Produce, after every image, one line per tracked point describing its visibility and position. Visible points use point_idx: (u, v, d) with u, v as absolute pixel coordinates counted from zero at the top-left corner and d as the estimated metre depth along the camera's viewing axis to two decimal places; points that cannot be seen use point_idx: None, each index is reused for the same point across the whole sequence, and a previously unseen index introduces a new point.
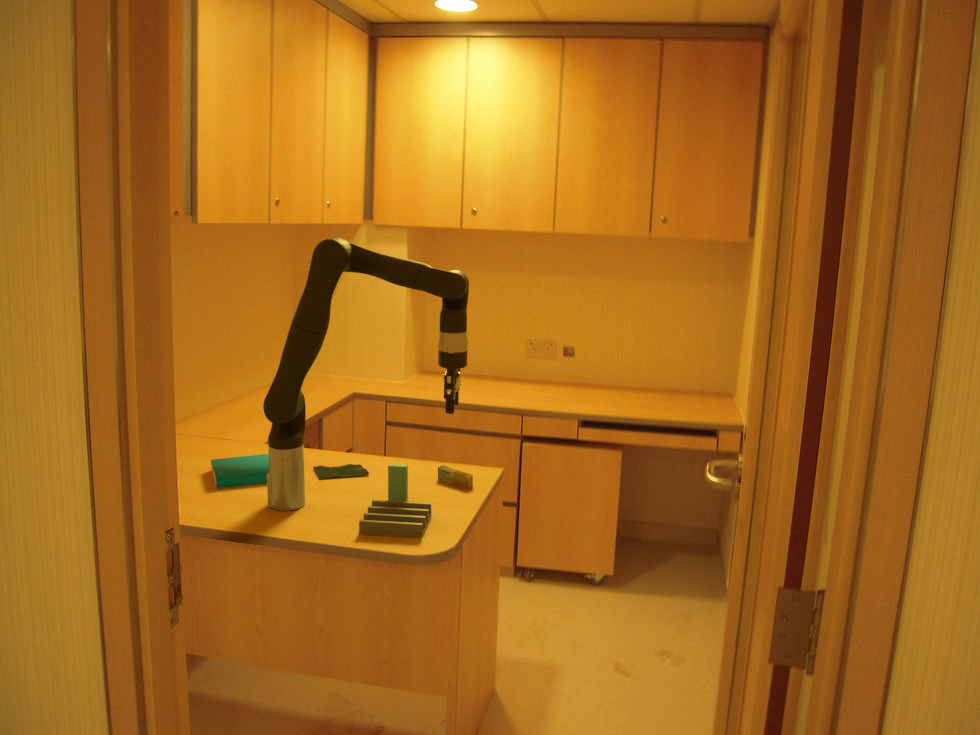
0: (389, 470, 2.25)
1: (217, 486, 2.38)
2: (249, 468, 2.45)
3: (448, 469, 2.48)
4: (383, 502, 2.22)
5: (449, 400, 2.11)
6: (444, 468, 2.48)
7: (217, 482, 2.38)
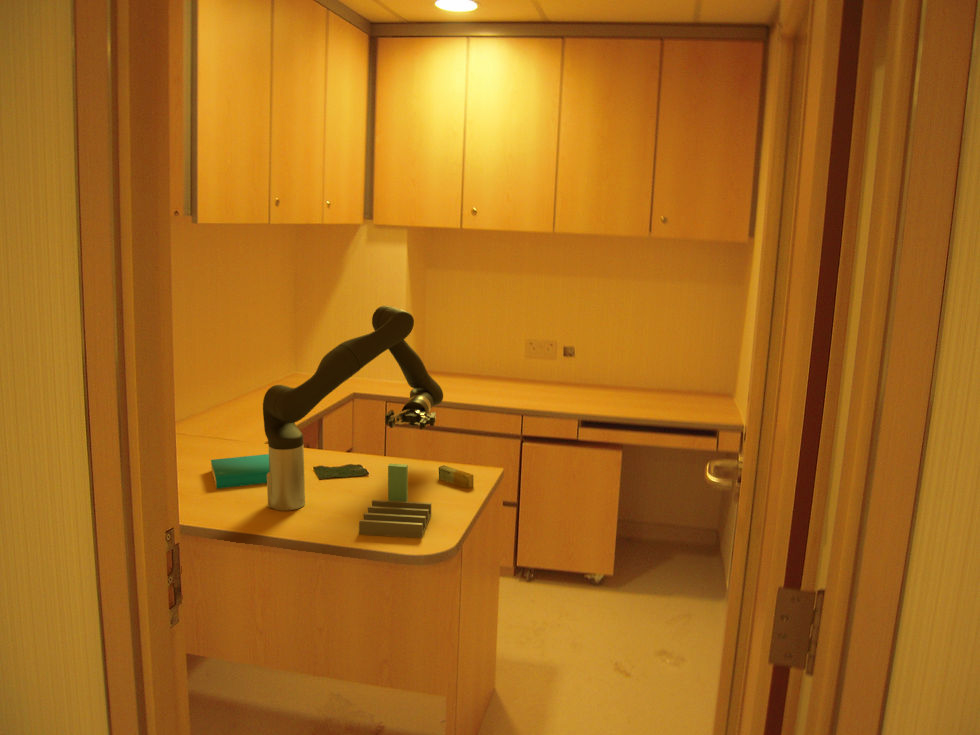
0: (389, 470, 2.25)
1: (217, 486, 2.38)
2: (249, 468, 2.45)
3: (449, 469, 2.48)
4: (383, 502, 2.22)
5: (427, 422, 2.37)
6: (445, 468, 2.49)
7: (217, 482, 2.37)
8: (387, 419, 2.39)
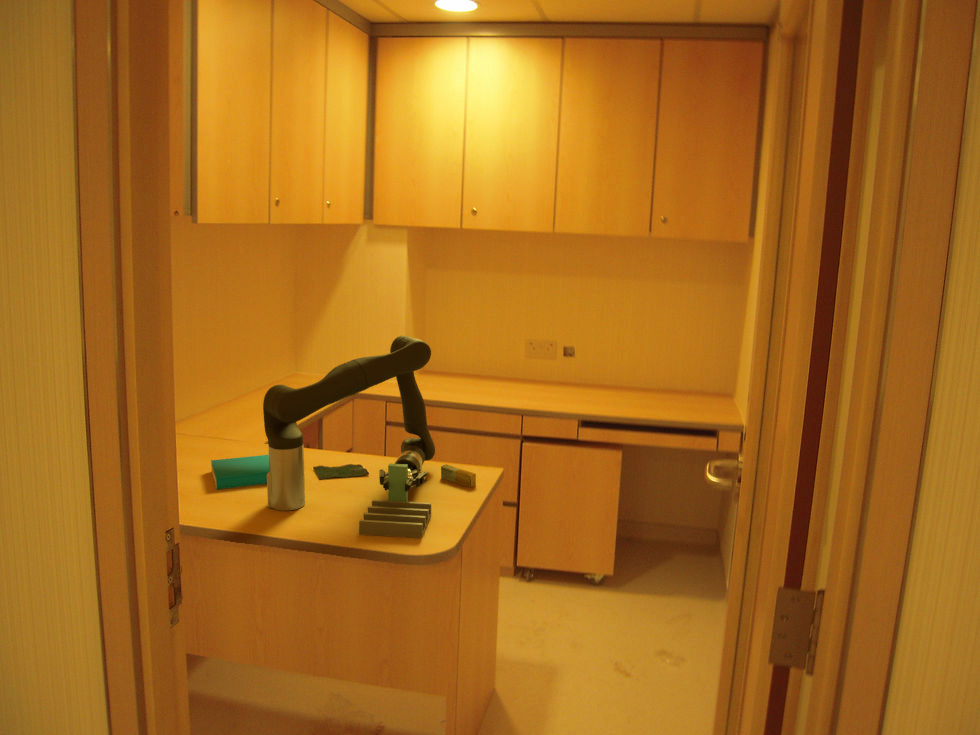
0: (389, 470, 2.25)
1: (217, 487, 2.37)
2: (250, 469, 2.44)
3: (451, 468, 2.49)
4: (383, 502, 2.22)
5: (412, 483, 2.27)
6: (447, 467, 2.49)
7: (217, 483, 2.37)
8: (382, 480, 2.28)
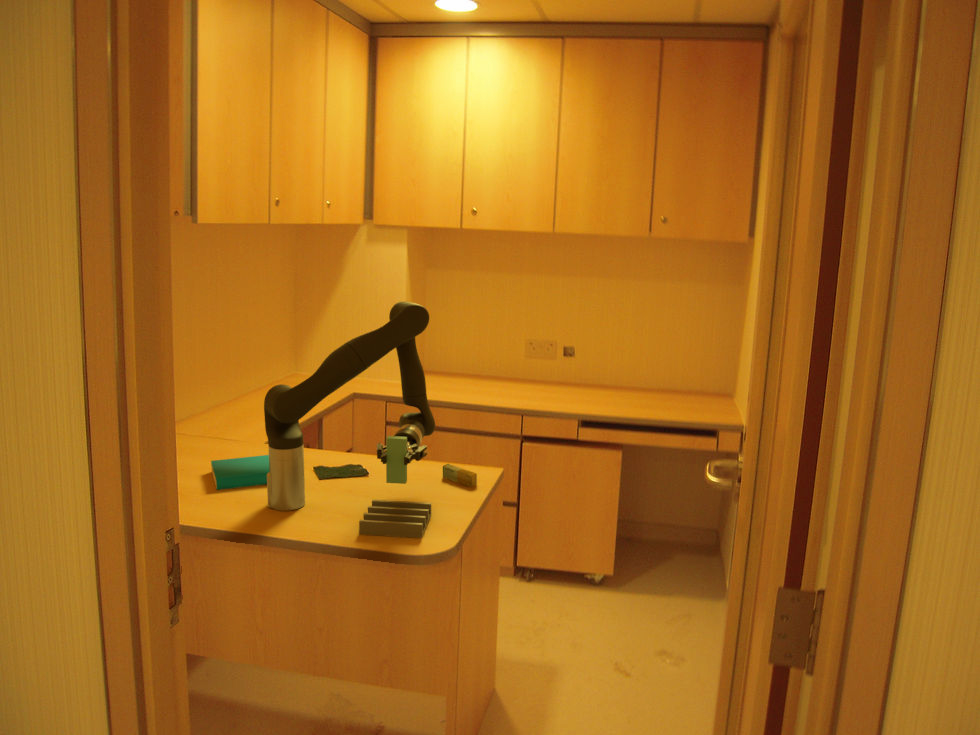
0: (387, 442, 2.11)
1: (217, 488, 2.37)
2: (250, 469, 2.44)
3: (453, 467, 2.49)
4: (383, 502, 2.22)
5: (412, 457, 2.14)
6: (449, 466, 2.50)
7: (217, 483, 2.36)
8: (379, 454, 2.15)
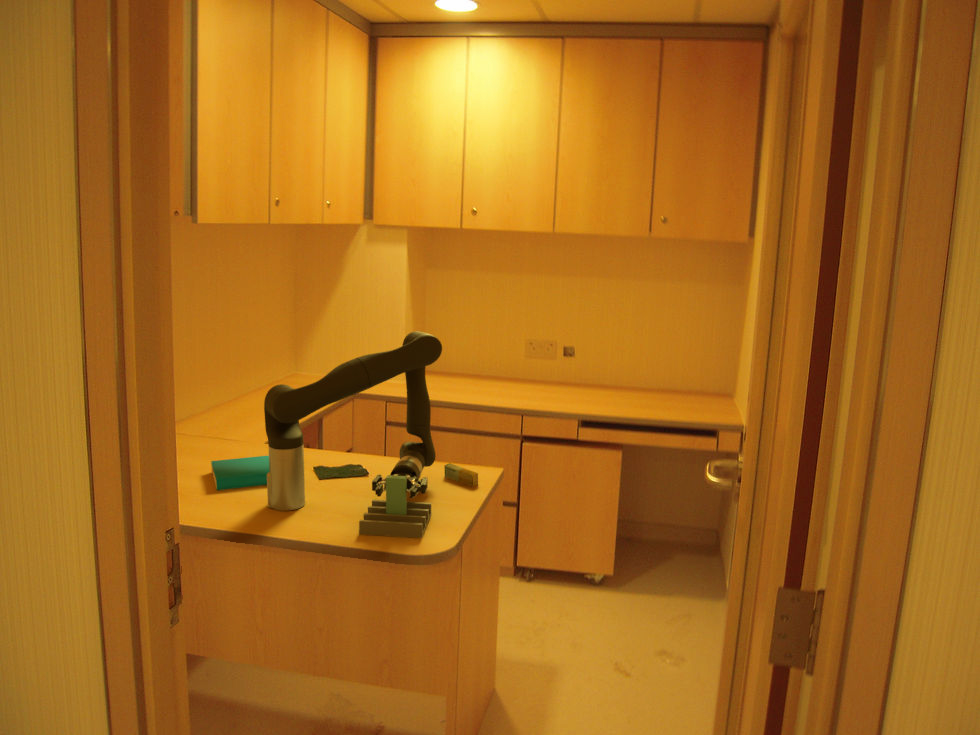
0: (387, 482, 2.13)
1: (217, 488, 2.36)
2: (250, 470, 2.44)
3: (454, 467, 2.50)
4: (383, 502, 2.22)
5: (418, 490, 2.15)
6: (451, 466, 2.50)
7: (217, 484, 2.36)
8: (374, 486, 2.17)
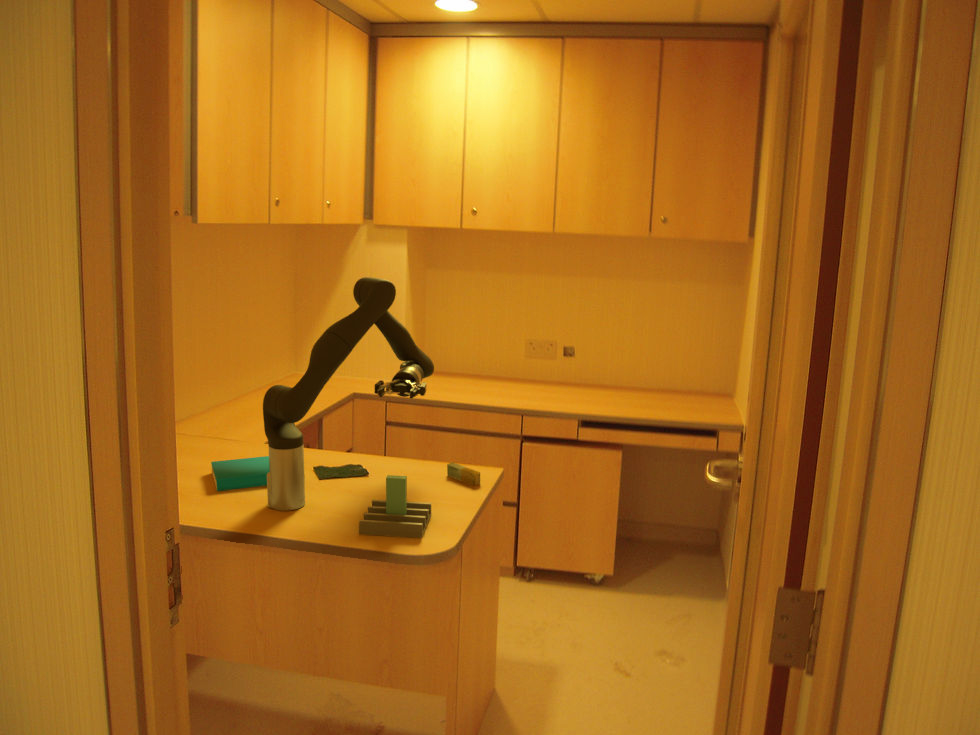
0: (387, 482, 2.13)
1: (217, 489, 2.36)
2: (250, 471, 2.43)
3: (457, 466, 2.50)
4: (383, 502, 2.22)
5: (417, 391, 2.31)
6: (453, 465, 2.51)
7: (217, 485, 2.35)
8: (376, 389, 2.33)
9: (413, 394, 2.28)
